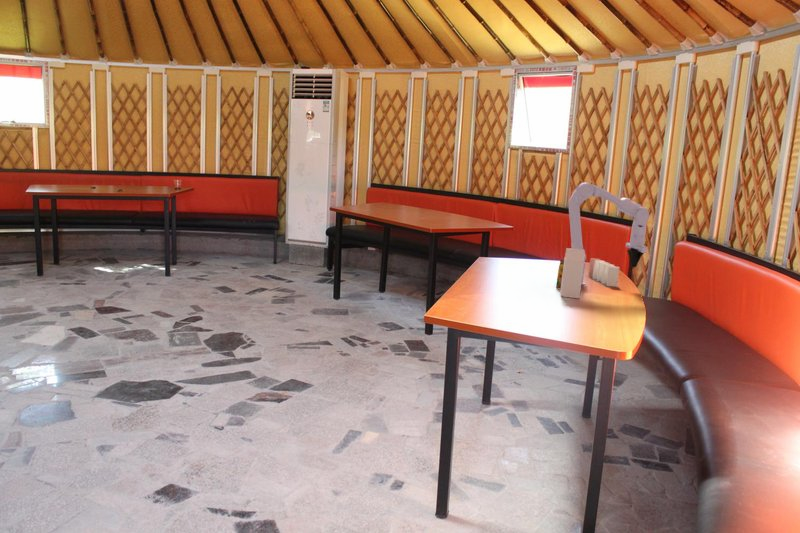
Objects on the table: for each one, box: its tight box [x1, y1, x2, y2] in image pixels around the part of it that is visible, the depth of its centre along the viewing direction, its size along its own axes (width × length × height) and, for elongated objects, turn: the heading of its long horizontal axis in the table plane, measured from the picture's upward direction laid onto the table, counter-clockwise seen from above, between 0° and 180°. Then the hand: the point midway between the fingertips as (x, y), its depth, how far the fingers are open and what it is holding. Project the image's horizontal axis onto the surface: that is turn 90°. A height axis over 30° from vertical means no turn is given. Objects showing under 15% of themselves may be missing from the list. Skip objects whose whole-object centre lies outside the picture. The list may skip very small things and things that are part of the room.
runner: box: [586, 275, 620, 288], centre depth 289 cm, size 23×6×1 cm, turn 7°
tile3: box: [597, 262, 611, 281], centre depth 288 cm, size 1×4×8 cm, turn 97°
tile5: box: [587, 258, 602, 277], centre depth 298 cm, size 1×4×8 cm, turn 97°
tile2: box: [601, 264, 616, 285], centre depth 284 cm, size 1×4×8 cm, turn 97°
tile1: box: [605, 266, 620, 287], centre depth 279 cm, size 1×4×8 cm, turn 97°
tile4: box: [593, 260, 606, 279], centre depth 293 cm, size 1×4×8 cm, turn 97°
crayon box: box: [555, 259, 564, 289], centre depth 268 cm, size 7×3×12 cm, turn 73°
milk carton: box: [559, 247, 586, 299], centre depth 253 cm, size 7×7×19 cm
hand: (633, 266), depth 274 cm, fingers closed
